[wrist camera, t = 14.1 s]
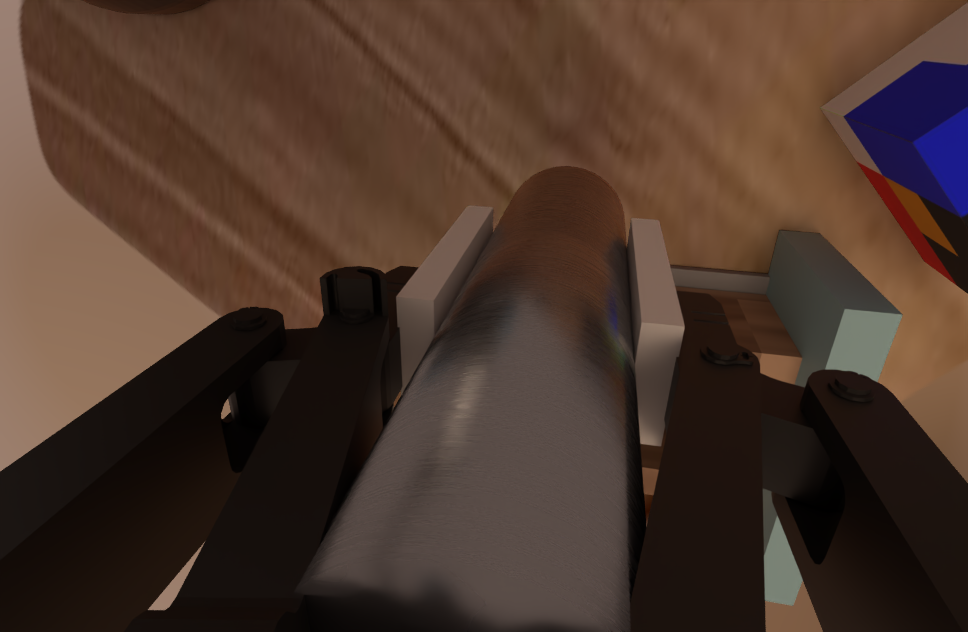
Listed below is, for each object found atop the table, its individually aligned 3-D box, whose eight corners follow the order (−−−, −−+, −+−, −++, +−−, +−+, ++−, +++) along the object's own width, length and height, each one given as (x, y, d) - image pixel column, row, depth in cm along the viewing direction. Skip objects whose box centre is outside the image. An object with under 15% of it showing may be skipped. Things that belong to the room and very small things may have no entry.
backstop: (462, 205, 34) (408, 266, 25) (820, 233, 31) (902, 314, 22) (460, 429, 41) (418, 539, 32) (751, 471, 38) (793, 605, 29)
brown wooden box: (599, 278, 34) (596, 334, 27) (766, 294, 32) (802, 357, 26) (583, 409, 38) (578, 483, 31) (731, 428, 36) (756, 510, 30)
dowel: (509, 162, 19) (241, 525, 5) (632, 170, 19) (697, 605, 5) (504, 274, 21) (295, 766, 7) (617, 285, 21) (629, 848, 7)
